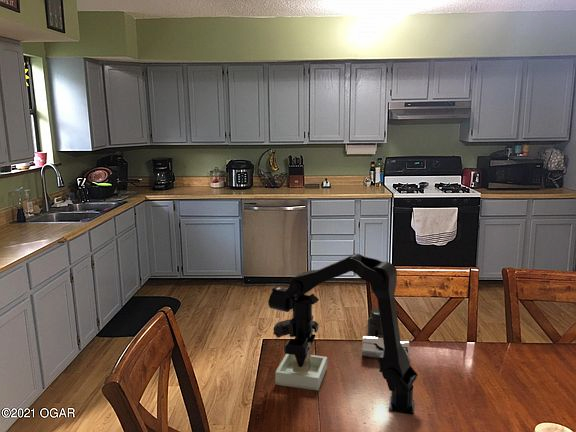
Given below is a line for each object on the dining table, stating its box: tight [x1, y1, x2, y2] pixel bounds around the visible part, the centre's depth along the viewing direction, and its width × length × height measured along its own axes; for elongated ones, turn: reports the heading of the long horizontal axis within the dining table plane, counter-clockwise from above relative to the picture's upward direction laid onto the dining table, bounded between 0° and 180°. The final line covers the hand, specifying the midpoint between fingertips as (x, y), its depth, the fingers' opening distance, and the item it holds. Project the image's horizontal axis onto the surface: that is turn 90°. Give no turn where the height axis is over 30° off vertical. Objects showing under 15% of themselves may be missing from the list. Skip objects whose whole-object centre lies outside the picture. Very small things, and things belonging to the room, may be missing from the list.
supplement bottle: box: [366, 308, 383, 337], centre depth 167 cm, size 7×7×12 cm
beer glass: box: [361, 334, 410, 360], centre depth 159 cm, size 7×7×15 cm
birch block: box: [293, 342, 312, 374], centre depth 146 cm, size 4×4×8 cm
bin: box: [274, 353, 328, 391], centre depth 147 cm, size 13×13×4 cm
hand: (302, 362), depth 146 cm, fingers closed on birch block, 4 cm apart
